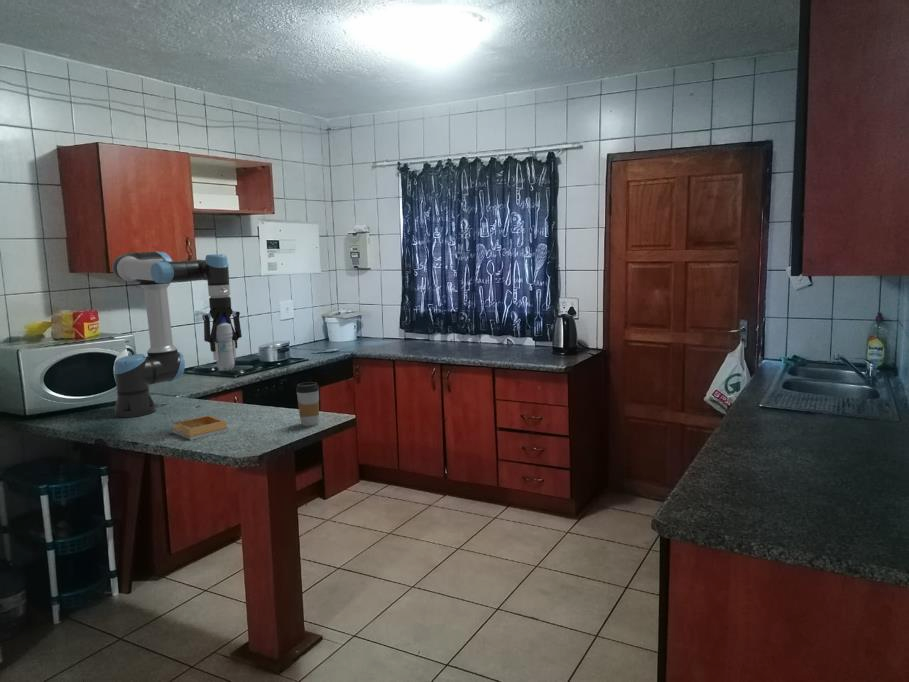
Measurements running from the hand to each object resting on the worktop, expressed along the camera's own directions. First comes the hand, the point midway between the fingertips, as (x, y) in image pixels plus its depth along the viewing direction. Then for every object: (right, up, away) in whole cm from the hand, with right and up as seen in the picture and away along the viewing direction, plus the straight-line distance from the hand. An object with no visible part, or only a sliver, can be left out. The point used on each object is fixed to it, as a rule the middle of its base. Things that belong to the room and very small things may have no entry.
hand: (225, 358), depth 245 cm
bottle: (0, -4, +1) cm, 4 cm away
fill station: (-6, -26, -8) cm, 28 cm away
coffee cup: (+32, -24, -2) cm, 40 cm away
